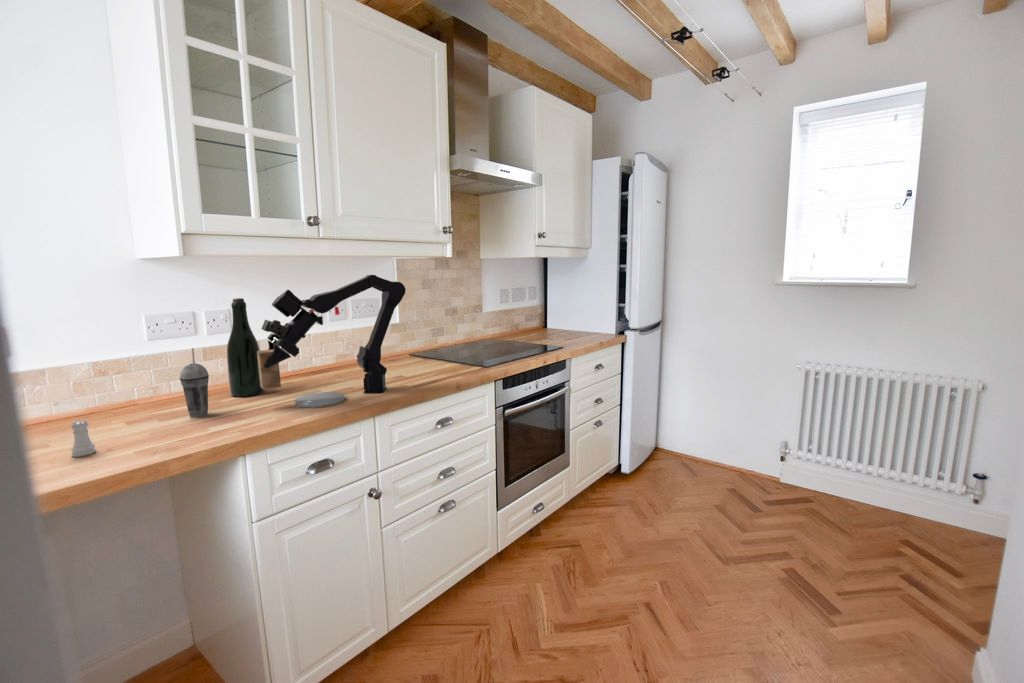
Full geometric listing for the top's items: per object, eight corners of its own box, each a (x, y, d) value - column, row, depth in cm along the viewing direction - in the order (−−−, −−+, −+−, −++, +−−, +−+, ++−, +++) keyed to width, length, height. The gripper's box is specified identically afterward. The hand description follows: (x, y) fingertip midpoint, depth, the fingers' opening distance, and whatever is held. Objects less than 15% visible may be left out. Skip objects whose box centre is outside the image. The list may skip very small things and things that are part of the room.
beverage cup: (180, 420, 140) (171, 351, 137) (189, 413, 147) (181, 347, 144) (208, 417, 142) (201, 350, 139) (216, 410, 149) (209, 346, 146)
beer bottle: (238, 390, 174) (229, 297, 169) (269, 389, 175) (260, 297, 170) (224, 398, 164) (213, 299, 159) (257, 397, 165) (247, 298, 160)
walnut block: (277, 383, 154) (274, 349, 153) (280, 386, 150) (277, 351, 149) (260, 386, 151) (256, 351, 150) (262, 389, 147) (259, 353, 146)
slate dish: (351, 395, 165) (351, 391, 165) (333, 407, 150) (333, 404, 150) (308, 395, 166) (307, 391, 166) (285, 408, 151) (285, 404, 151)
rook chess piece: (84, 450, 118) (79, 418, 117) (101, 450, 118) (96, 418, 116) (66, 457, 114) (60, 424, 112) (83, 457, 113) (78, 424, 112)
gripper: (271, 308, 157) (236, 345, 152) (283, 311, 142) (244, 353, 137) (300, 330, 163) (266, 367, 158) (314, 336, 148) (277, 377, 143)
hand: (263, 365), depth 149 cm, fingers closed on walnut block, 5 cm apart
